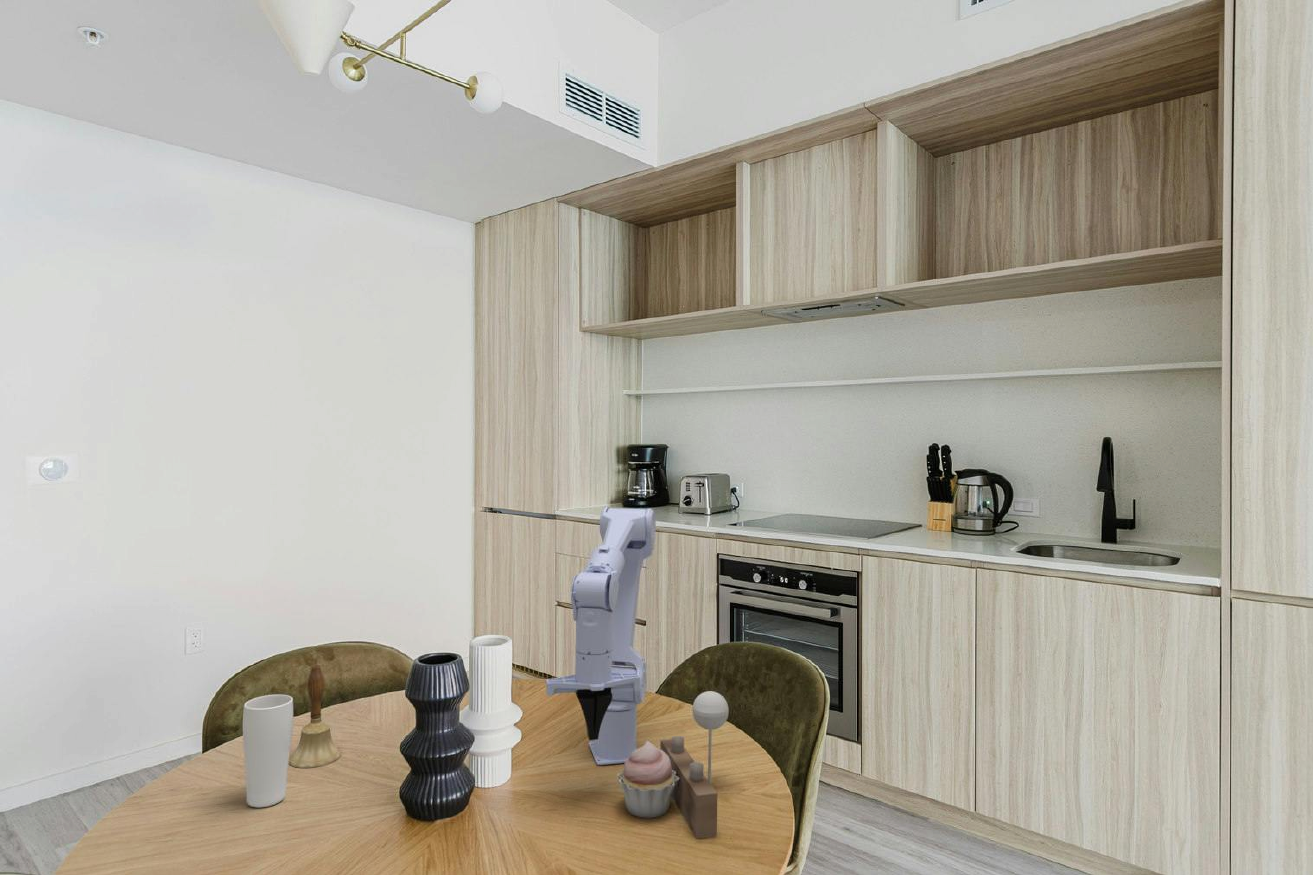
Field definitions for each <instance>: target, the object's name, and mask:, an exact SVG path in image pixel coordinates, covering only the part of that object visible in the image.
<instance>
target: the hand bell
mask: <svg viewBox="0 0 1313 875" xmlns="http://www.w3.org/2000/svg"><path fill="white" fill-rule="evenodd" d="M324 677H325V676H324V674H323V672H322V669H321V665H319V664H314V665H311V671H310V674H309V675H308V680H307V693H308V697H309V700H310V722H309V723H308V724H307V725H306V724H305V726H303V727H302V729H301V732H300V733H301V734H300V739H299V742H298V745H297V747H296V749H295V751H294V752H293V753H292V754H291V755H289V764H288V765H290V766H291V767H294V768H297V769H313V768H319V767H324V766H327V765H330V764H332V763H335V761H337V760H339V758H340V757H341V755H342V751H341V749H340V748H339V747H337V746H336V744H335V743H334V741H333V738H332V735H331V733H332V732H331V727H330V724H329V723H327V722H324V721H322V706H321V705H322V702H321V701H322V697H323V695H324V690H325V689H324V688H325V678H324Z"/></svg>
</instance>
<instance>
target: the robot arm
mask: <svg viewBox="0 0 1313 875" xmlns="http://www.w3.org/2000/svg"><path fill="white" fill-rule="evenodd" d="M656 522H657V520H656V513H655V511H654V510H653V508H646V509H645V508H617V507H616V508H615V507H612V508H611V507H610V506H605V508H603V510H602V511H601V513H600V518H599V533H600V537H601V541H602V544H601V545H599V546H597V547H596V548H594V550H593V551H592V553H591V555H590V558H588V562H587V564H586V566H585V568H584V570H583V571H581V572H580V573H579V574H578V575H577V574H576V575H575V576H574V577H573V580H572V583H571V589H570V602H571V606H572V612H573V613H572V618H573V621H575V656H574V657H575V660H574V661H575V662H574V663H575V664H574V666H575V667H574V668H575V670H574V671H575V672H574V674H572V675H571V674H570V675H566V676H562V677H555V678H546V679H545V692H546V696H548V697H549V696H555V694H570V693H575V695H576V698H577V700H578V702H579V705H580V707H581V710H582V713H583V717H584V721H585V726H586V732H587V737H588V740H589V742H588V746H589V748H590V751H591V754H592V755H593V758H594V762H595V763H596V765H597V766H603V765H604V766H605V765H613V764H625V762H626V761H627V760H628V759H629V758H630V755H631V753H632V752H633V751H635V750H637V749H638V748H637V719H638V718H637V716H638V715H637V713H638V712H637V709H638V708H637V707H638V705H641V704H642V703H643V702H644V699H645V697H646V691H647V690H646V689H647V664H646V661H645V659H644V657H643V656H642V655H641V654H640V653H638V651H636V650H635V649H634V648H633V647H634V638H635V630H636V629H635V627H636V620H637V618H636V617H637V610H638V609H637V608H638V601H639V600H638V598H639V590H640V589H639V588H640V580H641V570H642V568H643V563H644V561H645V560H646V559H647V558H649V557H651V556H652V555H653V550H654V549H655V541H656V540H655V539H656V538H655V537H656V529H657V528H656V524H657V523H656Z"/></svg>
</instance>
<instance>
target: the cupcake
mask: <svg viewBox="0 0 1313 875" xmlns="http://www.w3.org/2000/svg"><path fill="white" fill-rule="evenodd" d="M616 776H617V778H618V782H619V785H620V786H621V789H622V791H623V796H624V797H623V798H624V802H625V807H626V809H627V810H628V812H629V813H630V814H631V815H633V816H634V817H638V818H643V819H645V818H646V819H652V818H658V817H661V816H663V815H664V814H666V813H667V812H668V810H669V808H670V805H671V800H672V793H673V790H674V788H675V786H676V784H677V782H678V780H679V779H680V778H679V777H677V776H676V772H675V771H674V770H672V767H671V762H670V759H669V756H668V755H667V754H666V753H665V752H664V751H662V750H660V748H658V747H656V745H654V744H653V743H651V742H650V741H648V740H646V742H645V743H644V744H643V745H642V746H641V747H639V748H637V750H635V751H633V752H632V753H631V755H630V758H629V759H628V760H627V761H626V762H625V763H623V768H622V772H620V773H617V774H616Z"/></svg>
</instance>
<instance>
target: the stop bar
mask: <svg viewBox="0 0 1313 875" xmlns="http://www.w3.org/2000/svg"><path fill="white" fill-rule="evenodd" d="M659 747H660V748H659V749H660V750H662V751H664V752H665V753H666V754H667V755H668V756H669V759H670V762H671V767H672V770H674V771H675V772H676V776H677V777H679V778H680V779H679V780H678V782H677V784H676V786H675V788H674V790H673V793H672V797H671V799H673V801H674V803H675V804H676V806H677V808H678V810H679V812H680V814H681V815H682V817H683V818H684V820H685V822H686V823H687V825H688V827H689V829H690V830H691V832H692V834H693V836H694V837H695V839H696V840H698V839H699V840H700V839H705V838H706V839H707V838H714V837H718V832H717V831H718V792H717V791H716V790H715V788H714V787H713V785H712V783H711V784H710V782H709V781H708V777H706V775H705V774H704V763H702V762H700V761H695V760H694V759H693V757H692V756H691V754H690V753H689V751H688V750H687V749H686V747H685V738H684V737H683V736H680V735H677V736H672V737H671V738H670V739H669V738H668V739H660V746H659Z"/></svg>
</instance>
